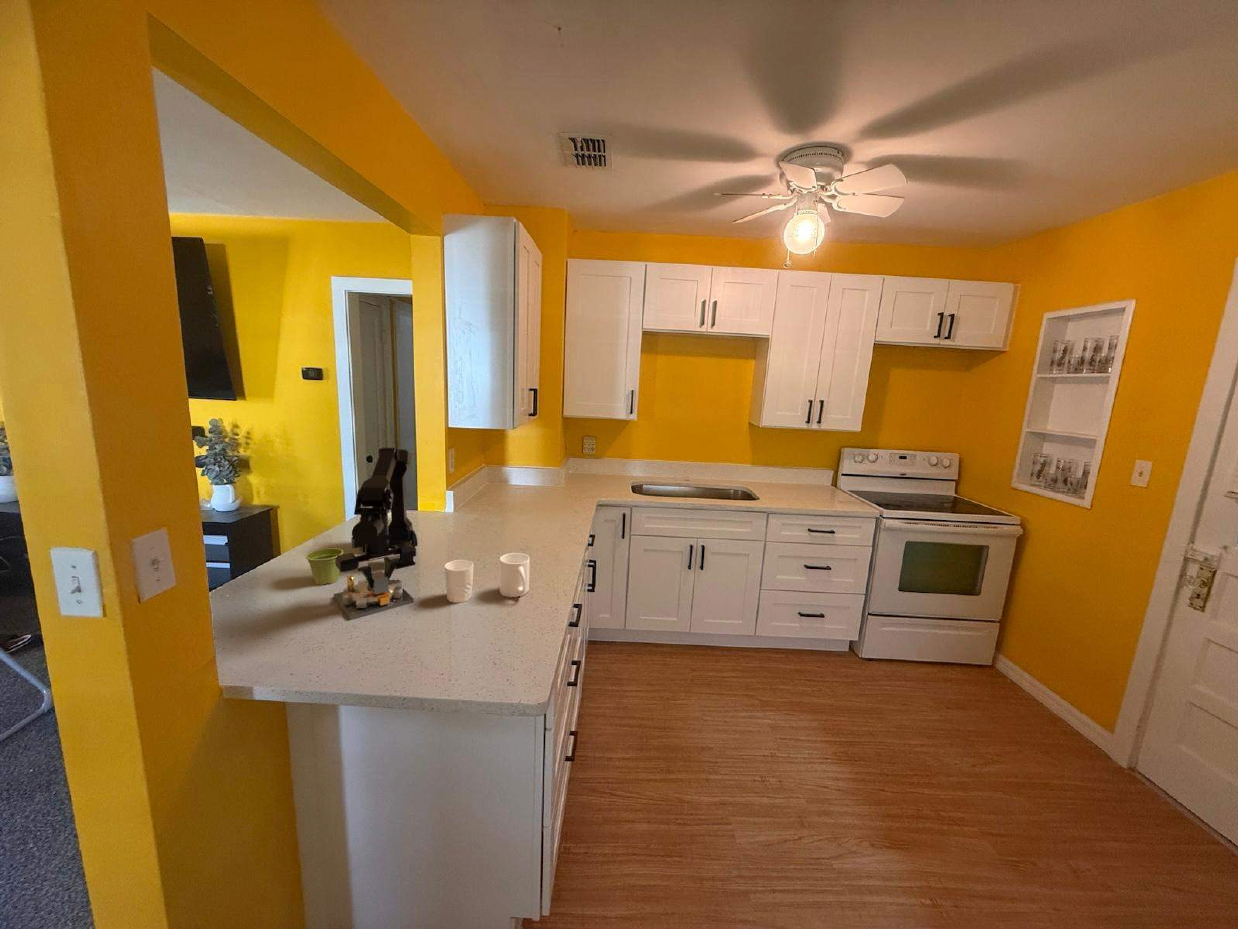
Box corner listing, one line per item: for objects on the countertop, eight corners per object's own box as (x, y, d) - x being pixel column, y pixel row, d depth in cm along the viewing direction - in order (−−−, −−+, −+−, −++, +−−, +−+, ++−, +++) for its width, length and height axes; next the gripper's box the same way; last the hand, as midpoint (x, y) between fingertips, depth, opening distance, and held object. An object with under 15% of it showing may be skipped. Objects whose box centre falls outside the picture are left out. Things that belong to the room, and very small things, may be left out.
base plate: (393, 582, 140) (393, 579, 140) (413, 602, 129) (413, 598, 128) (333, 597, 129) (333, 594, 129) (349, 620, 117) (349, 616, 117)
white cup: (479, 594, 135) (479, 562, 133) (461, 606, 128) (461, 572, 126) (457, 589, 138) (456, 558, 136) (438, 600, 130) (438, 567, 129)
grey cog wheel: (348, 586, 133) (347, 566, 132) (405, 581, 138) (404, 562, 137) (336, 610, 119) (335, 589, 118) (400, 604, 124) (399, 583, 123)
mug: (509, 605, 130) (509, 570, 128) (495, 588, 139) (496, 555, 138) (537, 599, 134) (538, 564, 132) (522, 583, 144) (523, 551, 142)
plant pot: (327, 589, 133) (325, 561, 132) (299, 585, 135) (297, 557, 133) (351, 576, 142) (350, 550, 141) (325, 572, 144) (324, 546, 142)
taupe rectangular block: (382, 584, 128) (382, 571, 127) (388, 590, 125) (388, 577, 124) (368, 587, 126) (368, 574, 125) (374, 594, 122) (374, 580, 122)
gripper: (401, 517, 134) (403, 568, 137) (328, 529, 121) (331, 584, 124) (416, 527, 127) (417, 580, 129) (339, 541, 114) (342, 599, 116)
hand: (378, 585), depth 125 cm, fingers closed on taupe rectangular block, 3 cm apart
